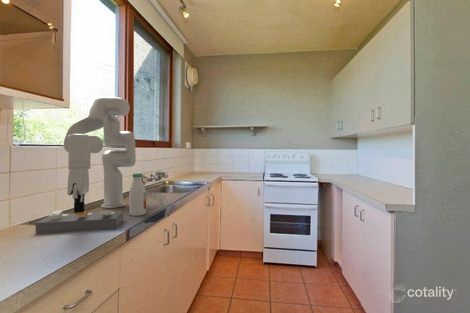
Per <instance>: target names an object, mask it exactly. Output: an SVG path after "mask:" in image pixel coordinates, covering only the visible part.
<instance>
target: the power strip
mask: <svg viewBox="0 0 470 313" xmlns="http://www.w3.org/2000/svg"><path fill="white" fill-rule="evenodd" d="M123 221H124V211H120V210H118V211H111V214H100V211H97V212H93V211H92V212H88V215H83V216H75V213H74V212H73V213H63V214H62V215H61V217H60V218H59V219H49V215H48V216H47V217H44V218H43V219H41V220H39V221H37V222H35V234H36V233H39V234H52V233H68V232H69V233H70V232H84V231H102V230H117V229H118V227H119V226H120V225H121V224H122V222H123Z"/></svg>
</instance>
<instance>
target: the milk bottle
mask: <svg viewBox="0 0 470 313" xmlns="http://www.w3.org/2000/svg"><path fill="white" fill-rule="evenodd" d="M143 176H144V175H143V173H132V182H131V185H130V187H129V196H128V198H129V199H128V201H129V203H128V204H129V205H128V207H129V208H128V209H129V211H128V212H129V214H128V215H130V216H132V217H133V216H134V217H138V216H144V215H146V214H147V191H146V186H145V185H144V182H143V178H144V177H143Z"/></svg>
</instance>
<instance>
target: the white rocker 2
mask: <svg viewBox="0 0 470 313" xmlns="http://www.w3.org/2000/svg"><path fill="white" fill-rule="evenodd" d="M99 212H100V214H111V212H112V210H111V209H103V210H100V211H99Z"/></svg>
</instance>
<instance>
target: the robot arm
mask: <svg viewBox="0 0 470 313" xmlns="http://www.w3.org/2000/svg"><path fill="white" fill-rule="evenodd" d="M130 107H131V106H130V104H129V101H128V100H126V99H124V98H121V97H117V96H96V97H94V98H93V99H92V100H91V102H90V103H89V107H88V110H87V113H86V114H85V117H83V118H81V119H79V120H78V121H76V122H75V123H73V124H72V125H70V127H69V128H68V130H67V131H66V134H65V136H64V141H63V148H64V150H65V152H67V154H68V159H67V160H68V163H67V165H68V167H67V168H68V170H69V171H68V177H67V188H66V189H67V193H66V194H67V195H68V196H72V199H73V213H80V212H84V211H85V206H86V205H85V200H86V199H85V198H86V194H87V193H88V192H89V190H90V182H89V181H90V179H89V178H90V176H89V170H91V154H98V153H101V151H102V150H103V147H104V145H105V147H107V148H109V150H106V151H103V153H102V155H101V161H102V166H103V203H102V204H100V207H101V208H102V209H117V208H122V207H124V206H126V202H124V201H123V199H124V198H123V172H122V171H121V170H120V169H119V168H132V167H134V166H135V164H136V162H137V161H136V160H137V158H136V154H137V153H136V139H135V134H134V133H133V132H132V131H129V130H121V121H120V120H119V118H118V117H117V116H121V117H122V116H123V117H124V116H125V117H126V116H128V115H129V113H130V110H131V108H130ZM100 129H103V139H104V140H102V139H101V138H100V137H99V136H98V135H89V134H88V133H92V132H95V131H98V130H100ZM110 149H112V150H110ZM114 149H115V150H114ZM120 149H121V150H120ZM122 149H124V150H122Z"/></svg>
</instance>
